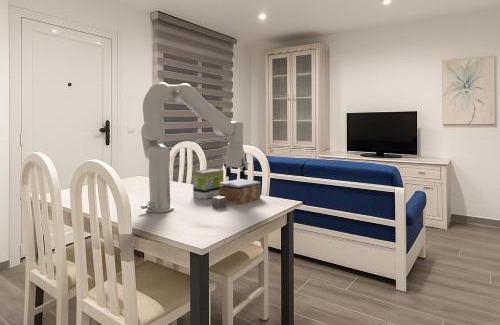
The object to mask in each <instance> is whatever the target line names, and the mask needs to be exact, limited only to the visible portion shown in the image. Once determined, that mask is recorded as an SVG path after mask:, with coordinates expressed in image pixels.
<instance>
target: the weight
mask: <svg viewBox="0 0 500 325" xmlns="http://www.w3.org/2000/svg"><path fill="white" fill-rule="evenodd" d="M211 207H212V208H214V209H223V208H226V207H227V202H226V197H224V196H214V197H211Z"/></svg>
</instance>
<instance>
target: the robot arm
mask: <svg viewBox="0 0 500 325" xmlns="http://www.w3.org/2000/svg"><path fill="white" fill-rule="evenodd" d="M142 101H143V102H142V114H143V122H144V123H143V125H142V126H141V132H140V134H141V141H142V147H143V153H144V157H145V158H146V159H147V160H148V182H149V185H148V186H149V188H148V189H149V200H148V201H147V203H146V204H141V206H140V209H141V210H145V209H146V211H147V212H148V213H154V214H155V213H156V214H158V213H159V214H161V213H167V212H172V211H174V209H175V206H174V205H172V204H171V182H170V181H171V178H170V165H171V164H170V162H171V153H170V150H169V148H168V147H167V146H166V145H164V144H163V139H164V137H165V135H166V130H165V125H164V124H165V123H164V117H163V104H164V103H183V104H184V106H186V107H187V108H188V109H189V110H190V111H191V112H192V113H193V114H194V115H195V116H197V117H198V118H200V119H202V120H205V121H206V122H209V123H210V124H211V125H212V131H213V133H215V135H218V136H223V137H228V142H227V145H228V146H227V148H226V153H225V159H223V160H222V164H223V167H224V169H225V177H226V178H227V177H231V176H232V170H231V167H232V168H239V179H244V180H245V175H246V174H245V173H246V170H247V169H248V167H249V162H248V161H247V160H245V159H246V158H245V149H244V147H243V146H244V140H243V139H244V123H243V122H242V121H231V120H230V119H229V118H228V117H227V116H226V115H225V113H223V112H221V111H220V109H218V108H216V107H215V106H214V105H212V104H210V102H208V101H207V99H205V98H204V97H203V96H202V95H201V94H200V93H199V92H198V91H197V90H196V89H195V88H194V87H193V86H191V85H190V84H189V83H180V84H168V83H166V82H158V83H155V84H152V85H151V86H150V87H149V89H148V91H147V92H146V93H145V95H144V97H143V100H142Z"/></svg>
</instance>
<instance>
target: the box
mask: <svg viewBox="0 0 500 325" xmlns="http://www.w3.org/2000/svg"><path fill="white" fill-rule="evenodd" d="M219 196H224V197H226V203H228V204H231V205H232V204H234V205H244V204H246V203H249V202H252V201H256V200H255V199H257V200H259V199H258V198H260V199H261V183H260V184H256V185H251V186H246V187H241V188H236V187H230V186H224V185H221V186H219Z"/></svg>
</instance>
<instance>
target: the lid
mask: <svg viewBox="0 0 500 325" xmlns="http://www.w3.org/2000/svg"><path fill="white" fill-rule="evenodd" d="M256 184H260V185H261V181H257V180H251V179H245V178H244V179H240V178H239V179H233V180H232V179H231V180H226V181H223V182H220V183H219V185H224V186H230V187H236V188H241V187H246V186H251V185H256Z"/></svg>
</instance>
